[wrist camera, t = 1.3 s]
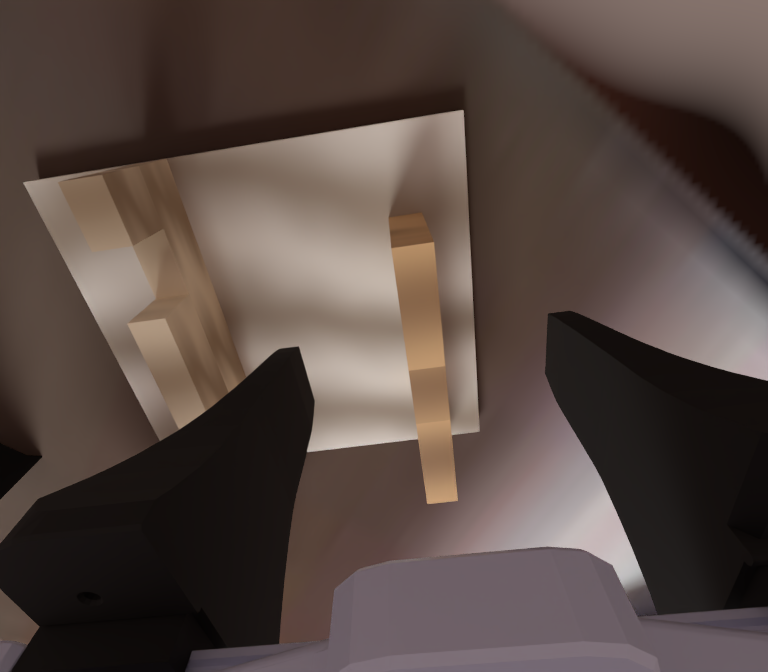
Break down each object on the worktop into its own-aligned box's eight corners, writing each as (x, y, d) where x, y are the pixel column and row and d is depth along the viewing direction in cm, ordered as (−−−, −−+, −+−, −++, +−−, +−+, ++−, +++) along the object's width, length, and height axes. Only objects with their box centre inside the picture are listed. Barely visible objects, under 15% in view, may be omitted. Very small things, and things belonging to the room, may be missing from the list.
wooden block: (444, 435, 27) (457, 500, 22) (419, 438, 27) (427, 503, 22) (421, 212, 20) (433, 241, 16) (388, 217, 20) (391, 248, 16)
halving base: (476, 421, 27) (499, 496, 22) (180, 457, 29) (135, 536, 23) (459, 109, 19) (491, 111, 14) (38, 179, 20) (-83, 205, 15)
